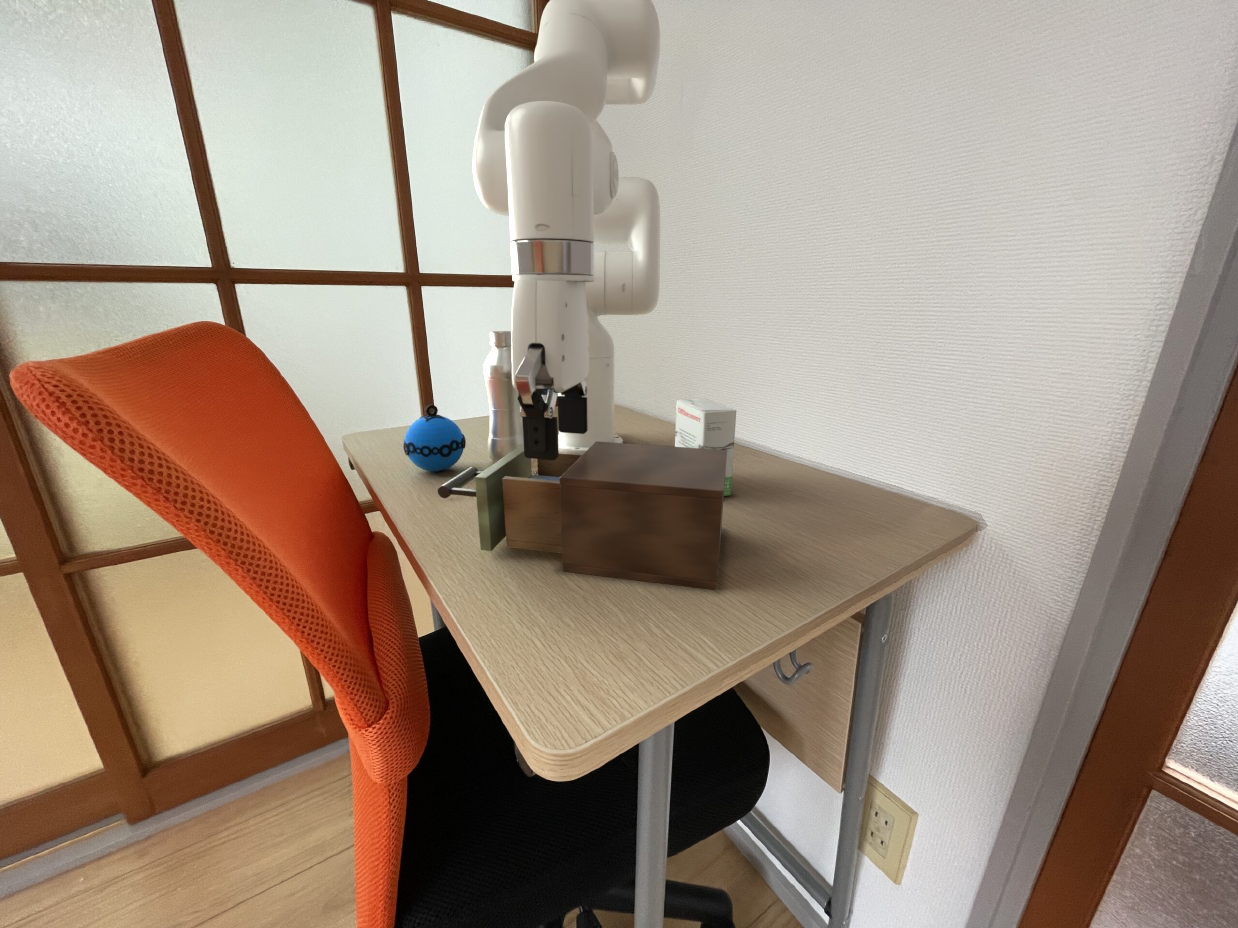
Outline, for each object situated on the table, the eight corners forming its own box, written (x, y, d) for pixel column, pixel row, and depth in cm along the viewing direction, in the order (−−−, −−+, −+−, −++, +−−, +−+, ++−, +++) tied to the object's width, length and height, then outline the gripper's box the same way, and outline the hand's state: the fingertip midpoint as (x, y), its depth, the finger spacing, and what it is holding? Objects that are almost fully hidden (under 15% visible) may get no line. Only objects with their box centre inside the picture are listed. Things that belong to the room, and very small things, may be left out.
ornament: (418, 484, 73) (410, 413, 70) (399, 468, 80) (391, 403, 77) (477, 472, 78) (471, 406, 75) (454, 458, 85) (448, 397, 82)
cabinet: (562, 571, 51) (559, 477, 48) (596, 519, 62) (595, 441, 59) (715, 590, 48) (723, 490, 45) (721, 531, 59) (727, 450, 56)
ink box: (732, 496, 70) (739, 408, 66) (699, 500, 68) (704, 411, 64) (702, 475, 77) (707, 396, 74) (671, 479, 76) (674, 398, 72)
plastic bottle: (480, 463, 82) (469, 331, 76) (515, 454, 87) (508, 329, 81) (504, 472, 78) (495, 334, 72) (540, 462, 83) (535, 332, 77)
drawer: (429, 544, 54) (420, 472, 52) (480, 503, 65) (475, 441, 62) (611, 565, 50) (611, 488, 48) (634, 518, 61) (635, 453, 58)
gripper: (547, 269, 57) (552, 422, 62) (470, 260, 41) (486, 467, 46) (614, 269, 56) (613, 426, 61) (562, 259, 40) (567, 474, 45)
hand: (558, 444), depth 54 cm, fingers open, 9 cm apart
